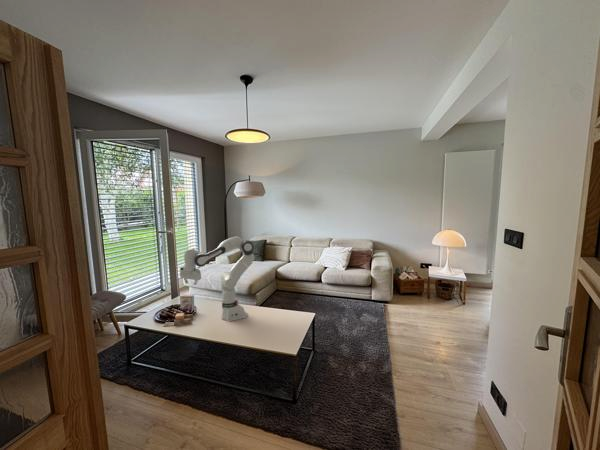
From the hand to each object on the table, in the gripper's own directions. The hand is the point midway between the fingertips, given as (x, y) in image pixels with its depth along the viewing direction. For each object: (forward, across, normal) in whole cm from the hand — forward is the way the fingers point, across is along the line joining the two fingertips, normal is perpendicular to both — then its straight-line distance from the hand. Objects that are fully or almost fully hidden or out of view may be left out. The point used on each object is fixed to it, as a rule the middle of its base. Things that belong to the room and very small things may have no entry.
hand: (190, 283), depth 212 cm
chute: (+32, +8, +7) cm, 34 cm away
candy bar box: (+33, +16, -11) cm, 38 cm away
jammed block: (+32, +7, +6) cm, 34 cm away
